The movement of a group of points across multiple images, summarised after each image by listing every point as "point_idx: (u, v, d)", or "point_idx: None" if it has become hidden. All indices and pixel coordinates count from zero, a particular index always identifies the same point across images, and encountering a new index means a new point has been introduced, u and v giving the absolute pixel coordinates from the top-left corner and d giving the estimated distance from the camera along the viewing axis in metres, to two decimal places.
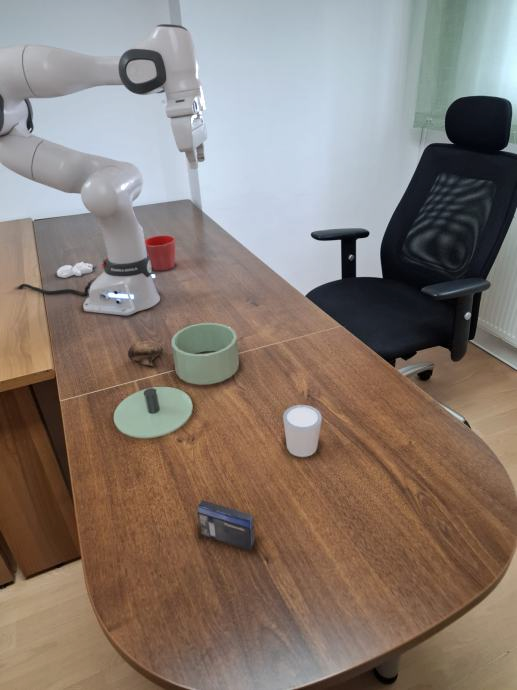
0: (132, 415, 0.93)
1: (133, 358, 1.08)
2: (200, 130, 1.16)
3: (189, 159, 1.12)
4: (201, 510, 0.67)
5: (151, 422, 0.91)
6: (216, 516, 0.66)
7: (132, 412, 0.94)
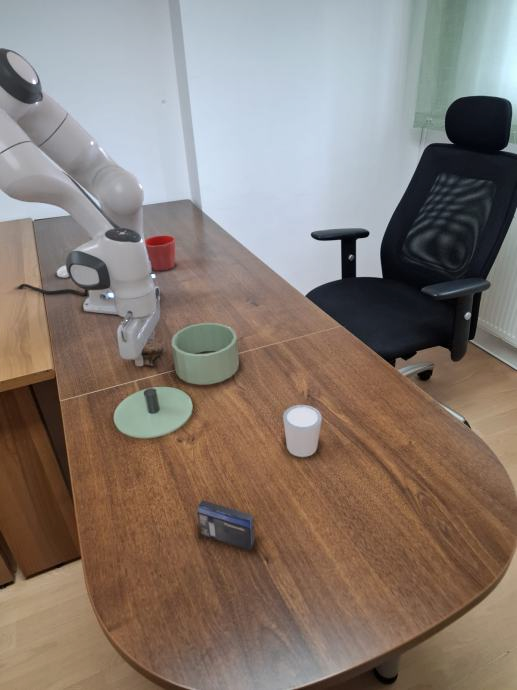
0: (132, 415, 0.93)
1: None
2: None
3: None
4: (201, 510, 0.67)
5: (151, 422, 0.91)
6: (216, 516, 0.66)
7: (132, 412, 0.94)
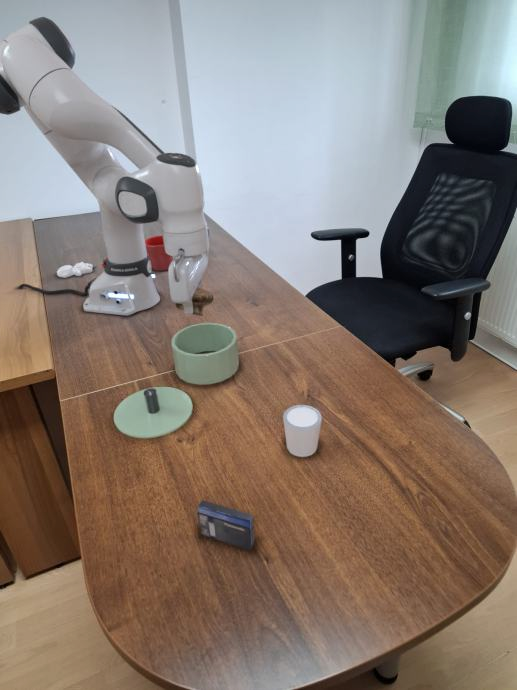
0: (132, 415, 0.93)
1: (181, 306, 0.97)
2: None
3: None
4: (201, 510, 0.67)
5: (151, 422, 0.91)
6: (216, 516, 0.66)
7: (132, 412, 0.94)
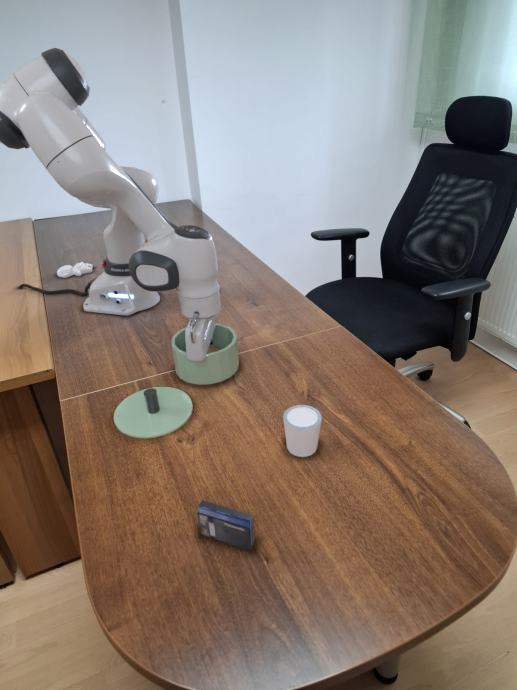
0: (132, 415, 0.93)
1: None
2: None
3: None
4: (201, 510, 0.67)
5: (151, 422, 0.91)
6: (216, 516, 0.66)
7: (132, 412, 0.94)
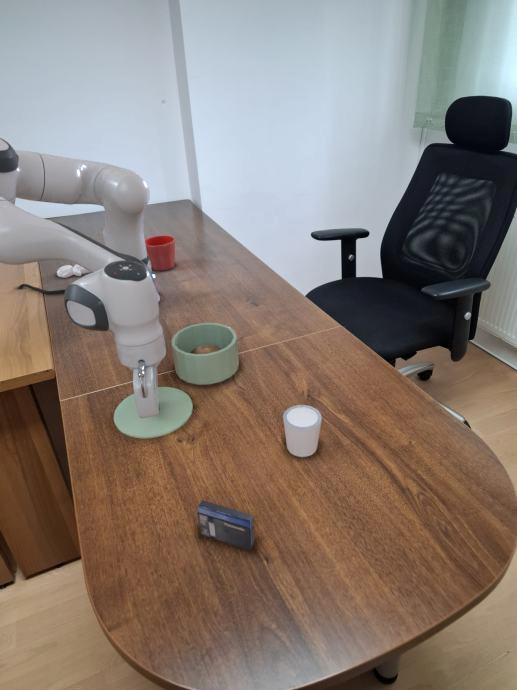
0: (132, 415, 0.93)
1: None
2: None
3: None
4: (201, 510, 0.67)
5: (151, 422, 0.91)
6: (216, 516, 0.66)
7: (132, 412, 0.94)
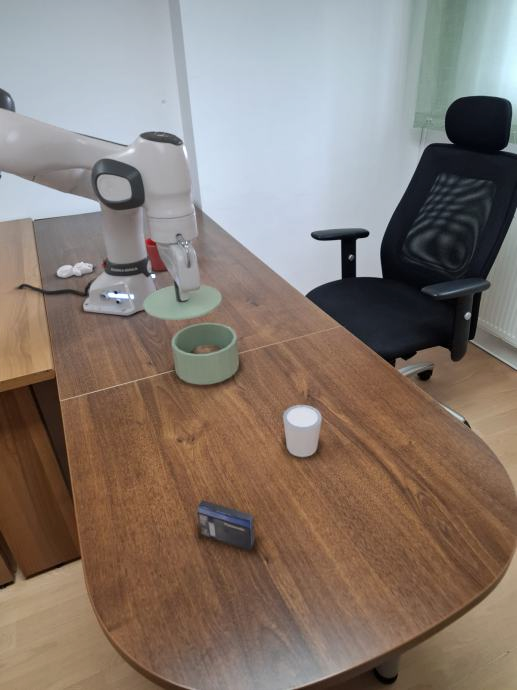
0: (163, 305, 0.92)
1: None
2: (170, 264, 0.87)
3: None
4: (201, 510, 0.67)
5: (185, 307, 0.91)
6: (216, 516, 0.66)
7: (161, 303, 0.93)
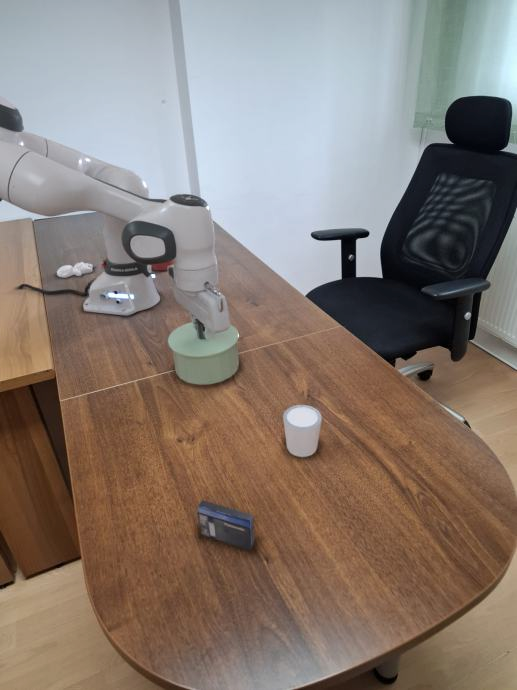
0: (188, 343, 1.02)
1: None
2: (196, 308, 0.97)
3: None
4: (201, 510, 0.67)
5: (209, 344, 1.01)
6: (216, 516, 0.66)
7: (186, 341, 1.02)
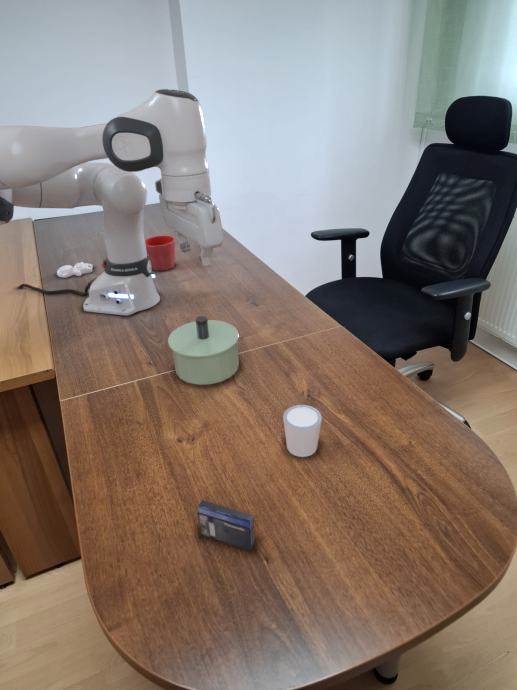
0: (188, 343, 1.02)
1: None
2: (186, 224, 0.88)
3: None
4: (201, 510, 0.67)
5: (209, 344, 1.01)
6: (216, 516, 0.66)
7: (186, 341, 1.02)
